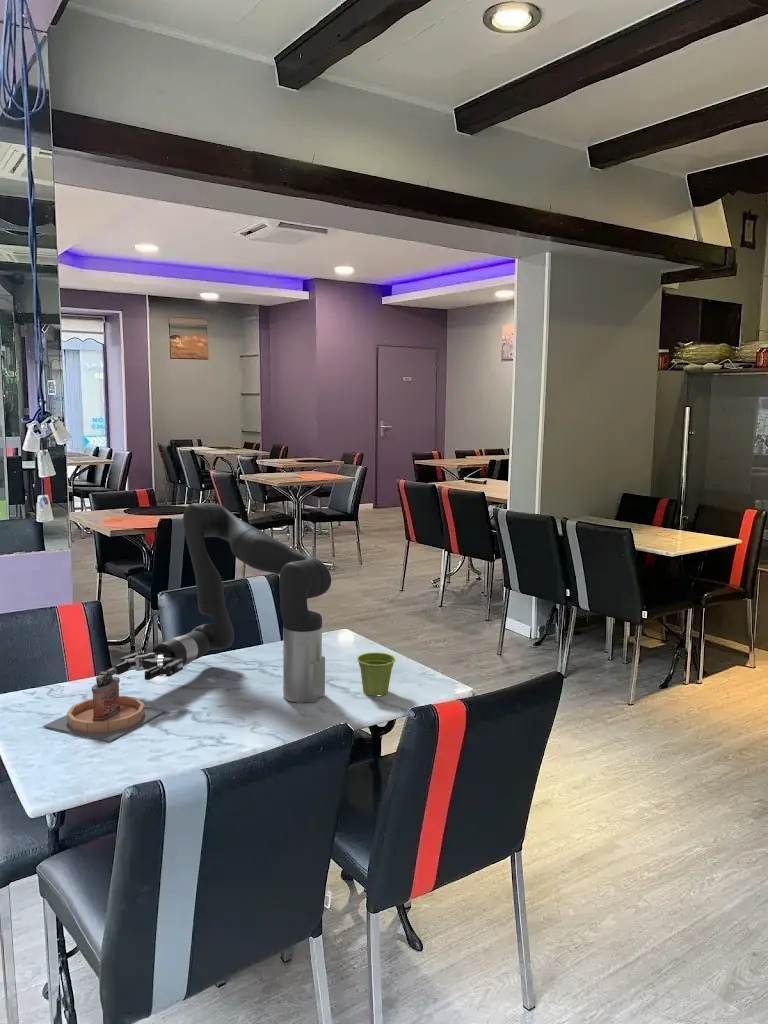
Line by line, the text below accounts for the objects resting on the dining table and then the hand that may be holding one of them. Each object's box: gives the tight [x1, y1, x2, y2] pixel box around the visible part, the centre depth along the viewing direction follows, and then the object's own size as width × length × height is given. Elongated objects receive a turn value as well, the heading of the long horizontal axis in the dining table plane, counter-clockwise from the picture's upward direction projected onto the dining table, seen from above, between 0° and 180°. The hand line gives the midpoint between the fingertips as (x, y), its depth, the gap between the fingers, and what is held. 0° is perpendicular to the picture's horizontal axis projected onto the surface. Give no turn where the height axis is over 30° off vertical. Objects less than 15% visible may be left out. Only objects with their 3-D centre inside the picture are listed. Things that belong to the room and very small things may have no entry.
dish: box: [66, 695, 146, 733], centre depth 169 cm, size 16×16×2 cm
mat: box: [43, 705, 167, 743], centre depth 169 cm, size 18×18×1 cm
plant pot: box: [356, 652, 397, 697], centre depth 188 cm, size 9×9×9 cm
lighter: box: [91, 667, 121, 721], centre depth 168 cm, size 8×3×10 cm, turn 166°
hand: (130, 673), depth 175 cm, fingers open, 8 cm apart
